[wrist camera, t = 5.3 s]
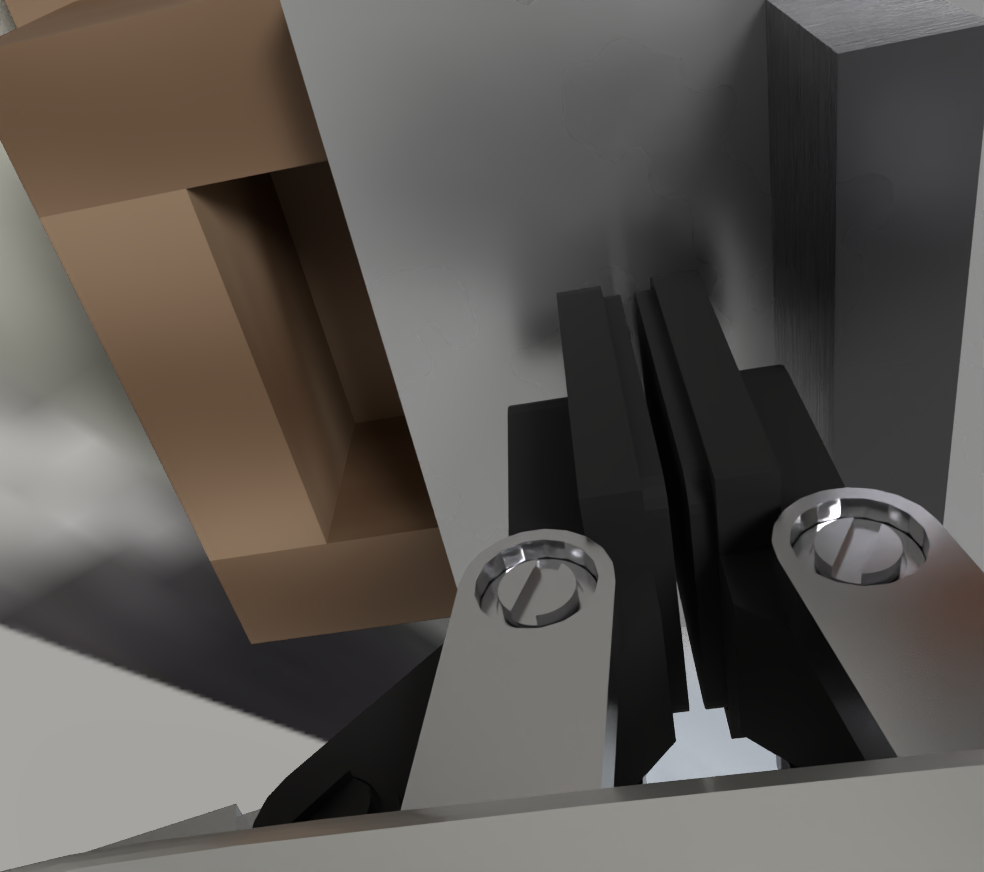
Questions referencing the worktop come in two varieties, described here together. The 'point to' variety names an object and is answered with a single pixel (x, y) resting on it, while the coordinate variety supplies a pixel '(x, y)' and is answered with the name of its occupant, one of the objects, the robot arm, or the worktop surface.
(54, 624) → the worktop surface
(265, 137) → the holder
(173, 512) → the worktop surface
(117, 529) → the worktop surface
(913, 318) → the lid
